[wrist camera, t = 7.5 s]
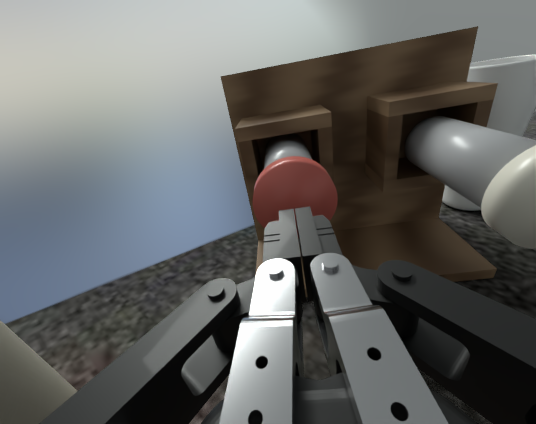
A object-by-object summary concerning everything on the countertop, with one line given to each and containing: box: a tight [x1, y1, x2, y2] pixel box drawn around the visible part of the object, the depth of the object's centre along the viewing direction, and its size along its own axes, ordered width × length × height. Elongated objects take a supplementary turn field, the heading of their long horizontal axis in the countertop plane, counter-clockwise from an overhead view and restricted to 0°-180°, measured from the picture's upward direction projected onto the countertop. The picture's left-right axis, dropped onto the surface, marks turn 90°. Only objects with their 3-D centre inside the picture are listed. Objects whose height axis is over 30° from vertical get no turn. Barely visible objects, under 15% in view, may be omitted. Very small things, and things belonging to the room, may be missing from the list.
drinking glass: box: [442, 54, 536, 211], centre depth 26 cm, size 7×7×15 cm
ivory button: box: [405, 116, 536, 249], centre depth 14 cm, size 5×10×5 cm, turn 179°
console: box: [221, 27, 498, 297], centre depth 21 cm, size 20×10×18 cm, turn 89°
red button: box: [253, 133, 338, 235], centre depth 18 cm, size 5×10×5 cm, turn 179°
